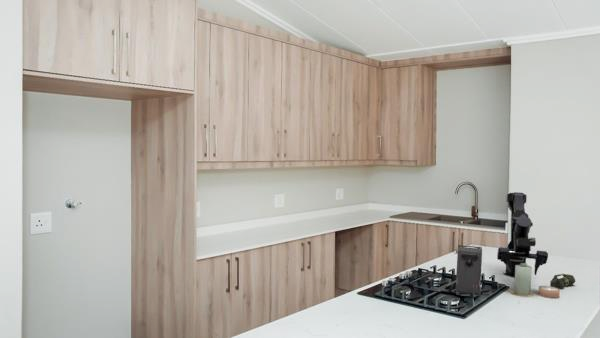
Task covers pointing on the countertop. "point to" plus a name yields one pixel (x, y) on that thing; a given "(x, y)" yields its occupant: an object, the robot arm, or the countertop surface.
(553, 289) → the ramekin
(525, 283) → the cloche
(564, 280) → the green toy tank
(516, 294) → the cork mat
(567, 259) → the countertop surface
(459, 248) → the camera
